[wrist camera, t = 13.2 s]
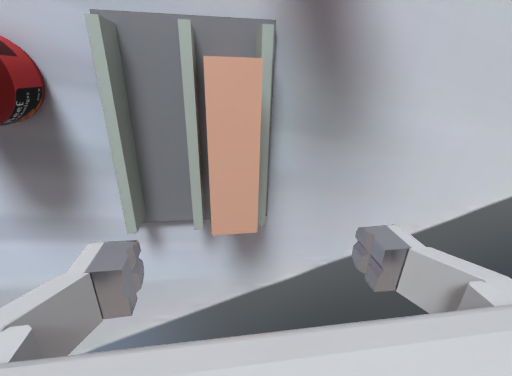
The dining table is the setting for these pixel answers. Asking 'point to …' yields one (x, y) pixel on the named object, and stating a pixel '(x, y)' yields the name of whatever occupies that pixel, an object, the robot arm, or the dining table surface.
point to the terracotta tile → (233, 141)
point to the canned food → (18, 84)
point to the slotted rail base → (170, 106)
